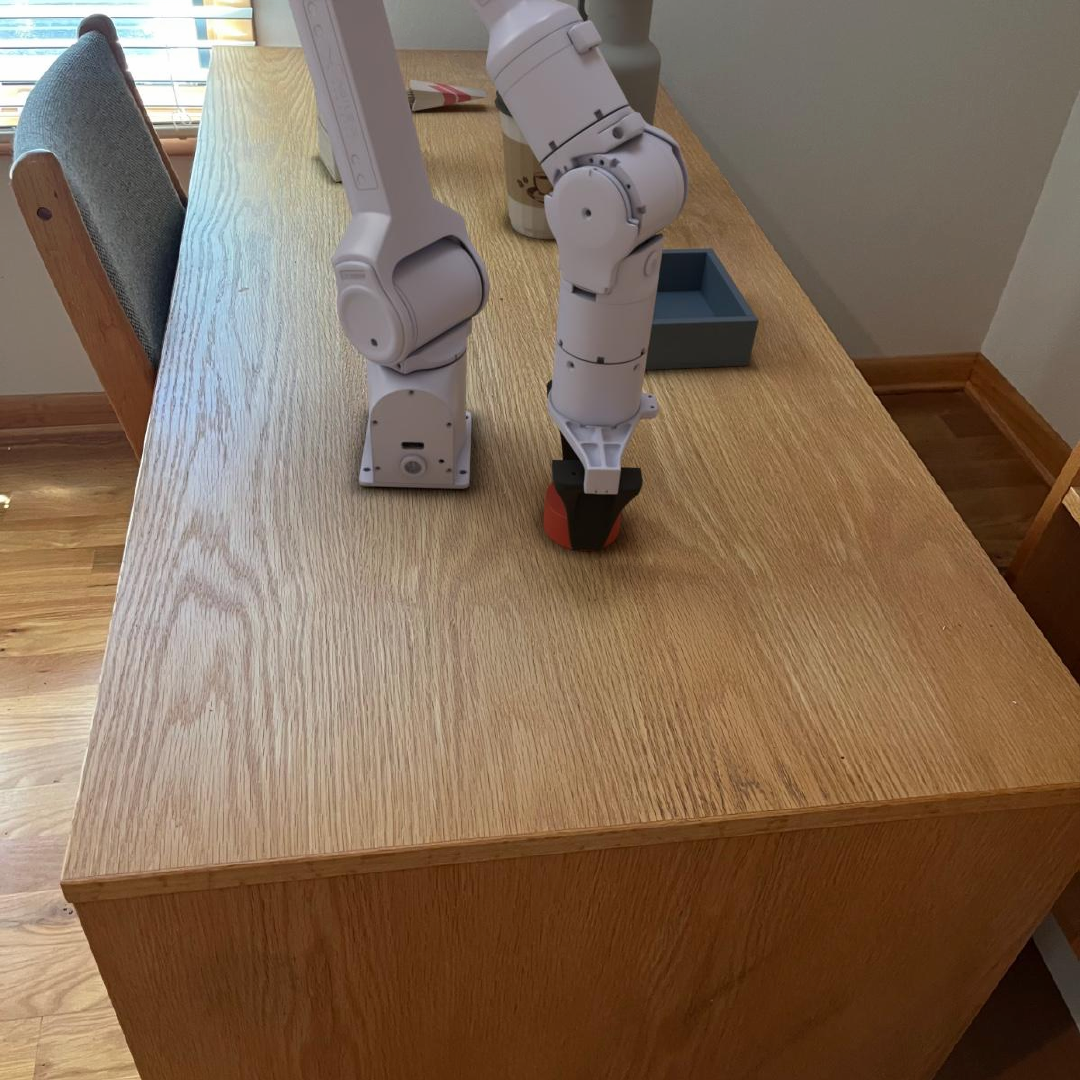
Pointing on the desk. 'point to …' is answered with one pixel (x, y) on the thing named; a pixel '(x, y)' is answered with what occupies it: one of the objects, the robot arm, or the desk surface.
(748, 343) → the bin
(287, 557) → the desk surface
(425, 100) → the paintbrush
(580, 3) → the water bottle
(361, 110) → the robot arm
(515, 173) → the coffee cup
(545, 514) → the red cylinder
